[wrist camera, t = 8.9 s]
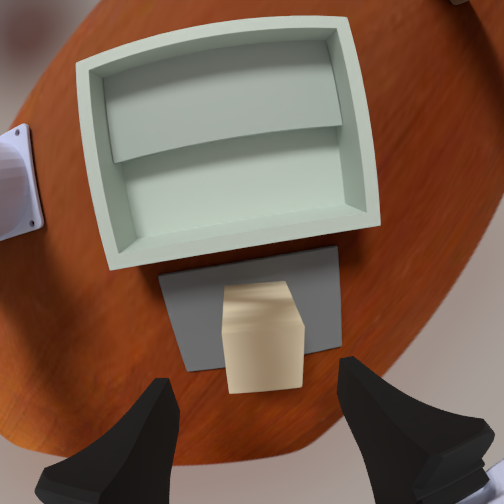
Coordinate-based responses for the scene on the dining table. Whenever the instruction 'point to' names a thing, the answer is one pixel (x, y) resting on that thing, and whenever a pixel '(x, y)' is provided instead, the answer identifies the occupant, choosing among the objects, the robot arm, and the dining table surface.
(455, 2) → the wooden block structure
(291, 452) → the dining table surface
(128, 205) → the box
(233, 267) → the mat
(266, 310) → the birch block
